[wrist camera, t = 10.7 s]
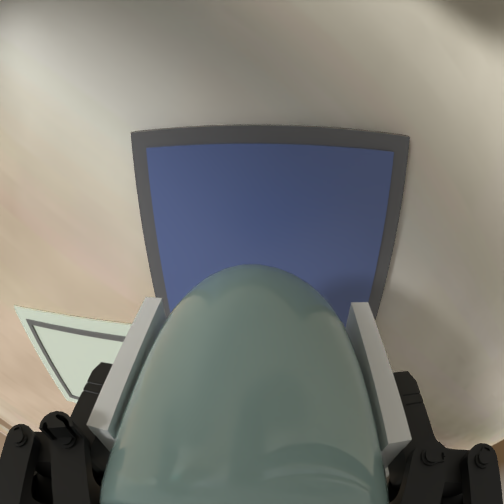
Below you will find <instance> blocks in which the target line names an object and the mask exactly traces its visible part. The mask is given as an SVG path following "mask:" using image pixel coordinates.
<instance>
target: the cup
mask: <svg viewBox="0 0 504 504" xmlns="http://www.w3.org/2000/svg"><path fill="white" fill-rule="evenodd" d="M100 504H389V494H388V485H387V478H386V472H385V466H384V460H383V455H382V449H381V444H380V439H379V434H378V430H377V425H376V420H375V416H374V412H373V407H372V403H371V399H370V396H369V392H368V388H367V384H366V381H365V378H364V375H363V371H362V368H361V365H360V362H359V359H358V357H357V354H356V352H355V349H354V346H353V344H352V342H351V339H350V337H349V335H348V333H347V330H346V328H345V326H344V324H343V322H342V320H341V319H340V317H339V315H338V314H337V312H336V311H335V309H334V308H333V307H332V306H331V304H330V303H329V302H328V301H327V299H326V298H325V297H324V296H323V295H322V294H321V293H320V292H319V291H318V290H317V289H316V288H314V287H313V286H312V285H311V284H310V283H308V282H307V281H305V280H303V279H301V278H300V277H298V276H296V275H294V274H292V273H290V272H288V271H285V270H282V269H280V268H277V267H273V266H268V265H263V264H241V265H236V266H231V267H227V268H225V269H222V270H220V271H217V272H215V273H213V274H210V275H209V276H208V277H206V278H205V279H203V280H202V281H200V282H199V283H197V284H196V285H195V286H194V287H193V288H192V289H191V290H190V291H189V292H188V293H187V294H186V295H185V296H184V297H183V298H182V299H181V300H180V301H179V302H178V304H177V305H176V306H175V307H174V309H173V310H172V312H171V313H170V315H169V316H168V318H167V320H166V321H165V323H164V324H163V326H162V328H161V329H160V331H159V333H158V335H157V336H156V338H155V340H154V342H153V344H152V346H151V348H150V350H149V352H148V354H147V356H146V358H145V361H144V363H143V365H142V367H141V370H140V372H139V374H138V377H137V379H136V382H135V384H134V386H133V389H132V392H131V394H130V397H129V400H128V402H127V405H126V408H125V410H124V413H123V416H122V419H121V422H120V425H119V427H118V430H117V433H116V436H115V439H114V442H113V445H112V448H111V452H110V455H109V458H108V461H107V465H106V468H105V472H104V476H103V479H102V484H101V489H100Z"/></svg>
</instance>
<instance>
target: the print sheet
mask: <svg viewBox="0 0 504 504" xmlns="http://www.w3.org/2000/svg"><path fill="white" fill-rule="evenodd" d="M14 308H15V310H16V313H17V315H18V317H19V319H20V321H21V323H22V325H23V327H24V329H25V331H26V333H27V335H28V337H29V339H30V341H31V343H32V344H33V346H34V348H35V350H36V352H37V353H38V355H39V357H40V359H41V360H42V362H43V364H44V366H45V367H46V369H47V371H48V372H49V374H50V375H51V377H52V379H53V380H54V382H55V383H56V385H57V386H58V388H59V390H60V391H61V393H62V394H63V396H64V397H65V398H66V400H67V401H71V402H74V403H77V401H78V399H79V397H80V395H81V393H82V392H83V389H84V387H85V385H86V383H87V380H88V378H89V376H90V374H91V372H92V370H94V369H95V368H96V367H97V366H98V365H99V364H100V363H101V362H104V363H110V364H113V363H114V361H115V358H116V356H117V354H118V352H119V350H120V348H121V346H122V344H123V342H124V340H125V337H126V335H127V333H128V331H129V329H130V327H131V325H132V324H129V323H121V322H113V321H105V320H98V319H91V318H84V317H78V316H71V315H65V314H59V313H53V312H47V311H42V310H37V309H31V308H26V307H21V306H16V305H14Z"/></svg>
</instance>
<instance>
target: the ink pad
mask: <svg viewBox="0 0 504 504" xmlns="http://www.w3.org/2000/svg"><path fill="white" fill-rule="evenodd" d="M409 139H410V137H409V136H406V135H399V134H392V133H385V132H376V131H368V130H358V129H347V128H335V127H321V126H302V125H263V124H247V125H208V126H190V127H175V128H163V129H152V130H143V131H135V132H131V141H132V151H133V161H134V170H135V178H136V186H137V194H138V201H139V208H140V215H141V221H142V228H143V234H144V240H145V245H146V251H147V256H148V262H149V267H150V272H151V277H152V282H153V287H154V292H155V296H156V298H162V301H163V305H164V310H165V314H166V318H168V316H169V315H170V313H171V312H172V310H173V309H174V307H175V306H176V305H177V304H178V302H179V301H180V300H181V299H182V298H183V297H184V296H185V295H186V294H187V293H188V292H189V291H190V290H191V289H192V288H193V287H194V286H195V285H196V284H197V283H199V282H200V281H202V280H203V279H205V278H206V277H208V276H209V275H210V274H213V273H215V272H217V271H220V270H222V269H225V268H227V267H231V266H236V265H241V264H263V265H268V266H273V267H277V268H280V269H282V270H285V271H288V272H290V273H292V274H294V275H296V276H298V277H300V278H301V279H303V280H305V281H307V282H308V283H310V284H311V285H312V286H313V287H314V288H316V289H317V290H318V291H319V292H320V293H321V294H322V295H323V296H324V297H325V298H326V299H327V301H328V302H329V303H330V304H331V306H332V307H333V308H334V309H335V311H336V312H337V314H338V315H339V317H340V319H341V320H342V322H343V324H344V326H345V328H346V323H347V319H348V315H349V310H350V306H351V302H368V303H369V306H370V309H371V311H372V314H373V317H374V319H376V316H377V312H378V309H379V305H380V301H381V298H382V294H383V290H384V286H385V282H386V278H387V273H388V269H389V265H390V260H391V256H392V251H393V246H394V242H395V236H396V231H397V226H398V221H399V215H400V209H401V203H402V196H403V190H404V183H405V175H406V167H407V159H408V149H409Z"/></svg>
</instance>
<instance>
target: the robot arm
mask: <svg viewBox="0 0 504 504" xmlns="http://www.w3.org/2000/svg"><path fill="white" fill-rule="evenodd" d="M166 320H167V318H166V314H165V310H164V305H163V301H162V298H154V297H146V298H145V300H144V301H143V303H142V305H141V307H140V309H139V311H138V313H137V315H136V317H135V319H134V321H133V323H132V325H131V327H130V329H129V331H128V333H127V335H126V337H125V340H124V342H123V344H122V346H121V348H120V350H119V352H118V354H117V356H116V358H115V361H114V363H113V364H110V363H104V362H101V363H100V364H99V365H98V366H97V367H96V368H95V369H94V370H92V372H91V374H90V376H89V378H88V380H87V383H86V385H85V387H84V389H83V392H82V393H81V395H80V397H79V399H78V401H77V404H76V406H75V408H74V410H73V412H72V415H71V417H69V415H67V414H66V413H64V412H59V411H55V412H51V413H49V414H48V415H46V416H45V417H44V418H43V420H42V421H41V423H40V427H39V429H40V430H41V431H42V432H33V431H32V430H31V428H30V427H29V426H27V425H25V424H18V425H15V426H13V427H12V428H11V429H10V430H9V432H8V434H7V437H6V440H5V443H4V447H3V450H2V454H1V457H0V504H100V489H101V484H102V479H103V476H104V472H105V468H106V465H107V461H108V458H109V455H110V452H111V448H112V445H113V442H114V439H115V436H116V433H117V430H118V427H119V425H120V422H121V419H122V416H123V413H124V410H125V408H126V405H127V402H128V400H129V397H130V394H131V392H132V389H133V386H134V384H135V382H136V379H137V377H138V374H139V372H140V370H141V367H142V365H143V363H144V361H145V358H146V356H147V354H148V352H149V350H150V348H151V346H152V344H153V342H154V340H155V338H156V336H157V335H158V333H159V331H160V329H161V328H162V326H163V324H164V323H165V321H166ZM346 330H347V333H348V335H349V337H350V339H351V342H352V344H353V346H354V349H355V352H356V354H357V357H358V359H359V362H360V365H361V368H362V371H363V375H364V378H365V381H366V384H367V388H368V392H369V396H370V399H371V403H372V407H373V412H374V416H375V420H376V425H377V430H378V434H379V439H380V444H381V449H382V455H383V460H384V466H385V469H386V468H387V467H388V470H389V476H388V477H387V485H388V494H389V504H503V501H502V489H501V481H500V474H499V467H498V461H497V455H496V453H495V450H494V449H493V448H492V447H491V446H490V445H488V444H483V443H480V444H477V445H475V446H474V447H473V448H472V449H471V450H455V449H448V448H445V447H444V446H443V445H442V444H441V443H440V442H438V441H437V440H436V439H435V436H434V434H433V431H432V428H431V424H430V421H429V418H428V415H427V412H426V409H425V406H424V404H423V400H422V397H421V394H420V391H419V388H418V385H417V382H416V380H415V379H414V378H413V377H412V376H411V375H410V373H409V372H408V371H405V372H396V373H393V372H392V369H391V366H390V363H389V360H388V357H387V354H386V351H385V348H384V345H383V342H382V339H381V336H380V333H379V331H378V328H377V325H376V322H375V319H374V317H373V314H372V311H371V309H370V306H369V303H368V302H351V306H350V310H349V315H348V319H347V323H346Z"/></svg>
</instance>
